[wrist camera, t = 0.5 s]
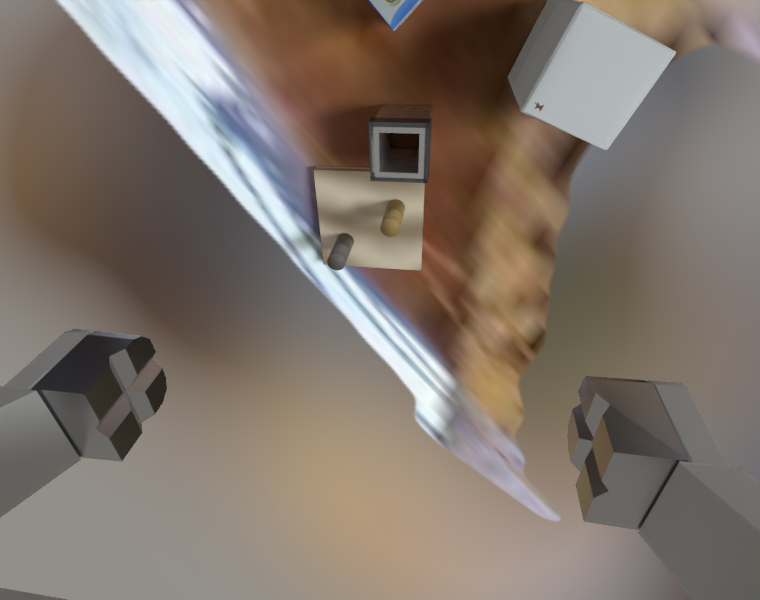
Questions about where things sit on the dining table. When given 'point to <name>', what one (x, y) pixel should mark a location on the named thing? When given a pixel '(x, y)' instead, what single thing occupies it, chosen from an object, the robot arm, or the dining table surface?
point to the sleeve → (400, 160)
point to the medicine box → (394, 10)
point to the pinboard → (368, 219)
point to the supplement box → (585, 71)
